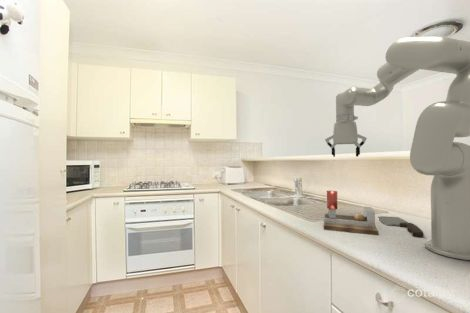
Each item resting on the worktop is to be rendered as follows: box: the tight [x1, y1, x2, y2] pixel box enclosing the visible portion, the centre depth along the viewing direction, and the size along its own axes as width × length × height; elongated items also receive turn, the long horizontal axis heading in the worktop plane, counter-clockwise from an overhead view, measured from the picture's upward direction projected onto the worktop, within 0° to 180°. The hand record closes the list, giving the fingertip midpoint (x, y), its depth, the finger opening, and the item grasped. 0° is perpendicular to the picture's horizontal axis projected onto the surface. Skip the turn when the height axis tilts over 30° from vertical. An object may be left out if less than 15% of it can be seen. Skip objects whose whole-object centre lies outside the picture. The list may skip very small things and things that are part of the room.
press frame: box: [323, 206, 376, 228], centre depth 92 cm, size 18×10×6 cm, turn 67°
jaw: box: [326, 190, 338, 219], centre depth 94 cm, size 4×7×12 cm, turn 157°
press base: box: [323, 223, 380, 236], centre depth 91 cm, size 18×16×2 cm
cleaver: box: [377, 215, 425, 238], centre depth 92 cm, size 29×10×2 cm, turn 163°
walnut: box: [354, 213, 365, 221], centre depth 90 cm, size 4×4×4 cm
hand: (345, 156), depth 106 cm, fingers open, 9 cm apart
